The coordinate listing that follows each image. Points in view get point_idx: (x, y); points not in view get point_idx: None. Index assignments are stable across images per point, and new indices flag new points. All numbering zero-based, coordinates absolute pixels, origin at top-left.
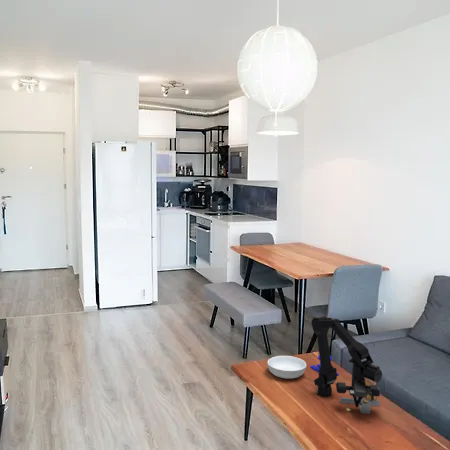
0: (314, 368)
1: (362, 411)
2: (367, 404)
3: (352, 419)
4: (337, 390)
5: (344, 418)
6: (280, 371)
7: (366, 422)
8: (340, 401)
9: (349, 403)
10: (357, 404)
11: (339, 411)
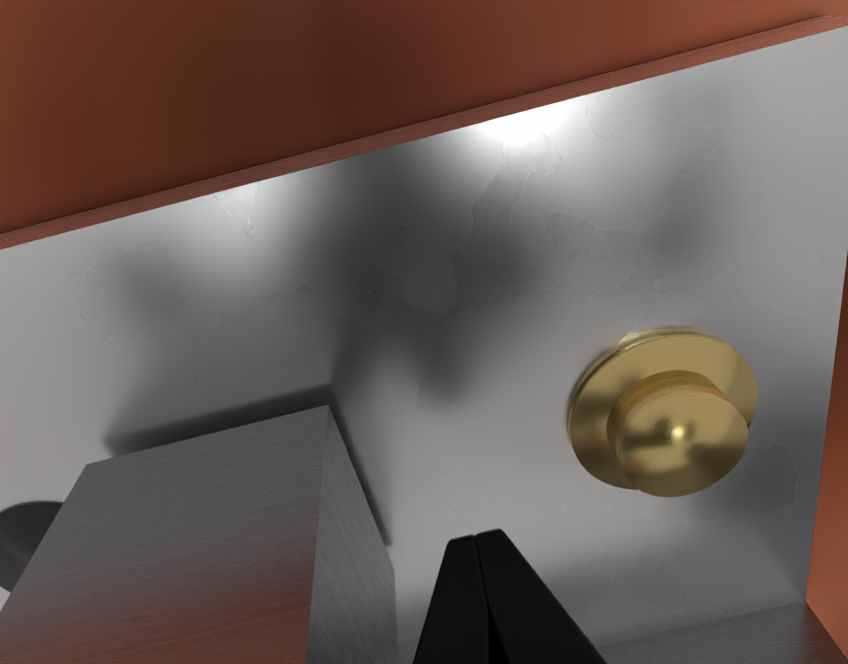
0: None
1: (285, 449)
2: None
3: (539, 66)
4: None
5: (781, 20)
6: None
7: (96, 60)
8: (825, 641)
9: (618, 657)
10: (474, 622)
11: (842, 347)
